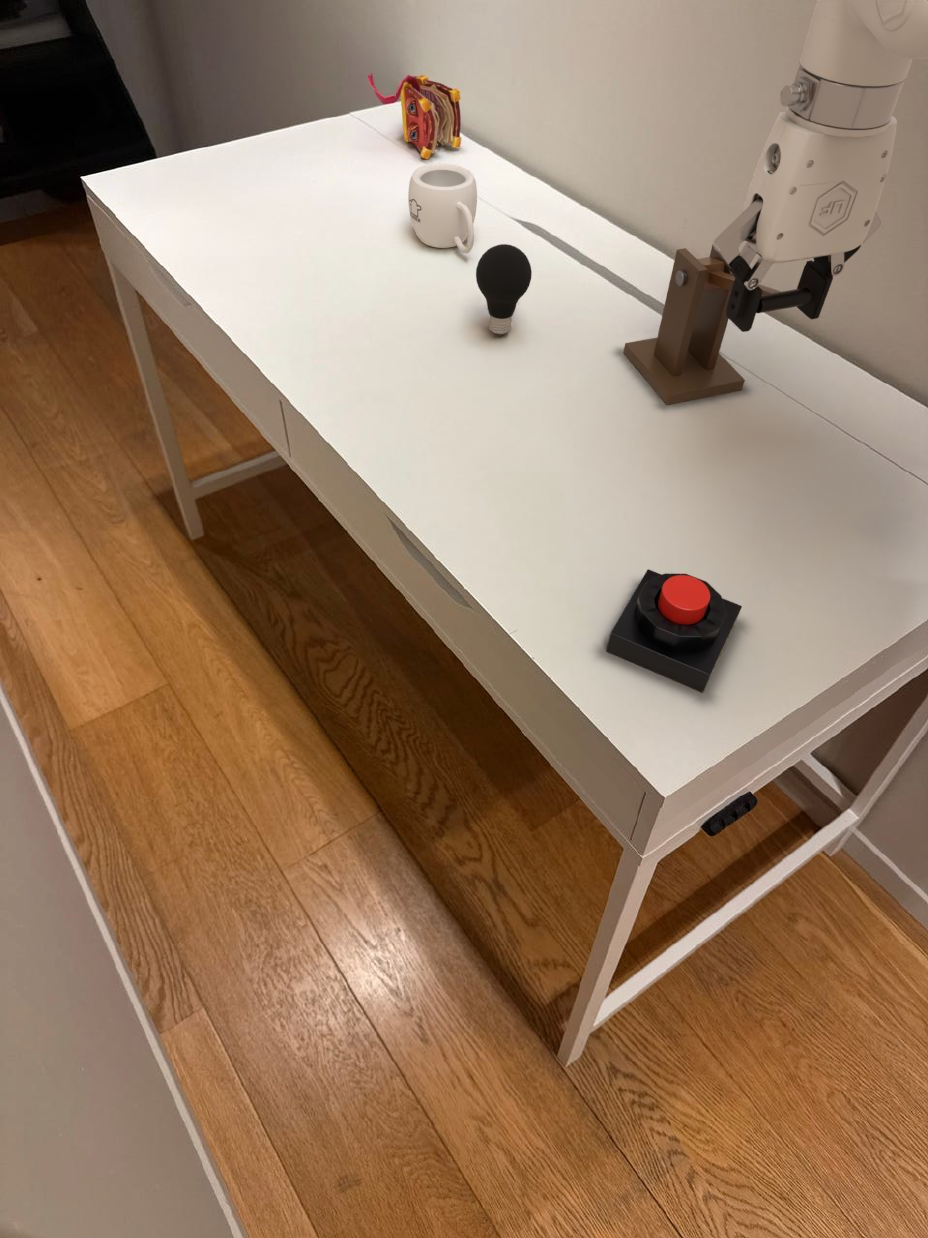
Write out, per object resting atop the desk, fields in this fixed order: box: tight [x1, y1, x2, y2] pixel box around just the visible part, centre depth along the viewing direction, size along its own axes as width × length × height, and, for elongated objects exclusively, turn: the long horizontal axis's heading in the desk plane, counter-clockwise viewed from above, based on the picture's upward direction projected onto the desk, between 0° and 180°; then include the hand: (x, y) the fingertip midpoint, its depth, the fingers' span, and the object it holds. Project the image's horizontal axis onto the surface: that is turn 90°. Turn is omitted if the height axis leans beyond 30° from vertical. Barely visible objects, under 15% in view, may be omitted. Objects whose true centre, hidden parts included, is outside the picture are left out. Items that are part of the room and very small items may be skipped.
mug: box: [407, 162, 478, 254], centre depth 109 cm, size 12×8×8 cm
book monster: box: [367, 72, 462, 160], centre depth 127 cm, size 11×9×12 cm
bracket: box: [623, 244, 746, 405], centre depth 90 cm, size 10×9×13 cm
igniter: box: [605, 568, 743, 693], centre depth 69 cm, size 8×8×4 cm
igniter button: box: [658, 575, 710, 625], centre depth 67 cm, size 4×4×2 cm
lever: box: [696, 256, 811, 314], centre depth 82 cm, size 14×5×2 cm, turn 20°
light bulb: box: [475, 243, 533, 337], centre depth 95 cm, size 6×6×10 cm
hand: (771, 315), depth 79 cm, fingers open, 6 cm apart
